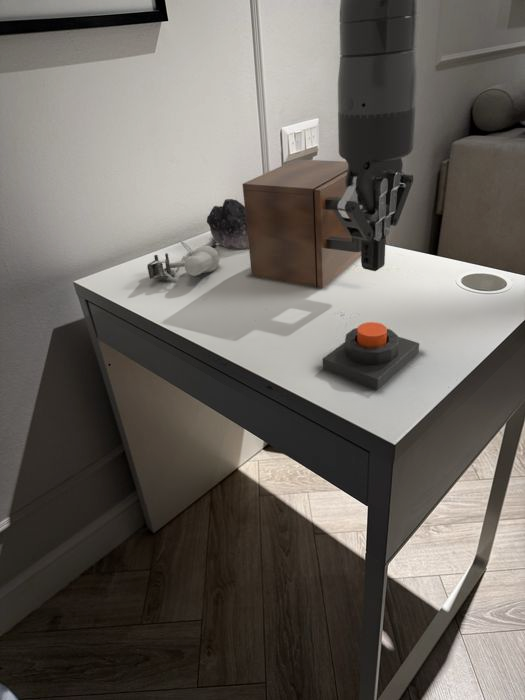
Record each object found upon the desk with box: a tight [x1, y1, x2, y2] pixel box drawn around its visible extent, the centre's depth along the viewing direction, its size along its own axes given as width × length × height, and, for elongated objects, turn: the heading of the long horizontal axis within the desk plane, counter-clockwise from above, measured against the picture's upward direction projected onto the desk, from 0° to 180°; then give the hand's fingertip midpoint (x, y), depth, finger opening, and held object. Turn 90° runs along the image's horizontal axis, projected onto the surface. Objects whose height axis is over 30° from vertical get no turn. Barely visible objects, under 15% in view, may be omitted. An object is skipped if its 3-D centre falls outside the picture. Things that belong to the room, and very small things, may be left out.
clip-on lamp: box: [146, 238, 221, 281], centre depth 98 cm, size 12×6×18 cm
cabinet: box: [242, 159, 348, 288], centre depth 92 cm, size 13×18×17 cm
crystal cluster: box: [206, 198, 249, 249], centre depth 110 cm, size 13×14×10 cm
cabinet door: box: [314, 172, 361, 289], centre depth 87 cm, size 7×18×17 cm, turn 148°
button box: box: [322, 327, 420, 391], centre depth 66 cm, size 10×8×4 cm
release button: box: [356, 321, 388, 347], centre depth 65 cm, size 4×4×2 cm
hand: (373, 267), depth 60 cm, fingers closed
